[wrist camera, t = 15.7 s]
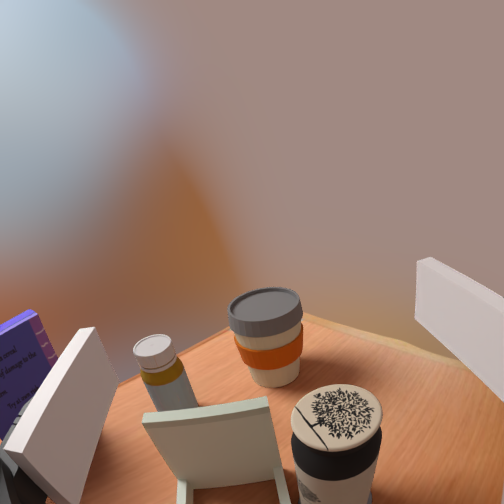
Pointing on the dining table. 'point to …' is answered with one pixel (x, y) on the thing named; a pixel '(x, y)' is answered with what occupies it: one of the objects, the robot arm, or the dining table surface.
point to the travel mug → (336, 444)
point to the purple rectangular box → (22, 364)
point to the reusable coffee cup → (268, 334)
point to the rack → (218, 446)
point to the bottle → (164, 374)
